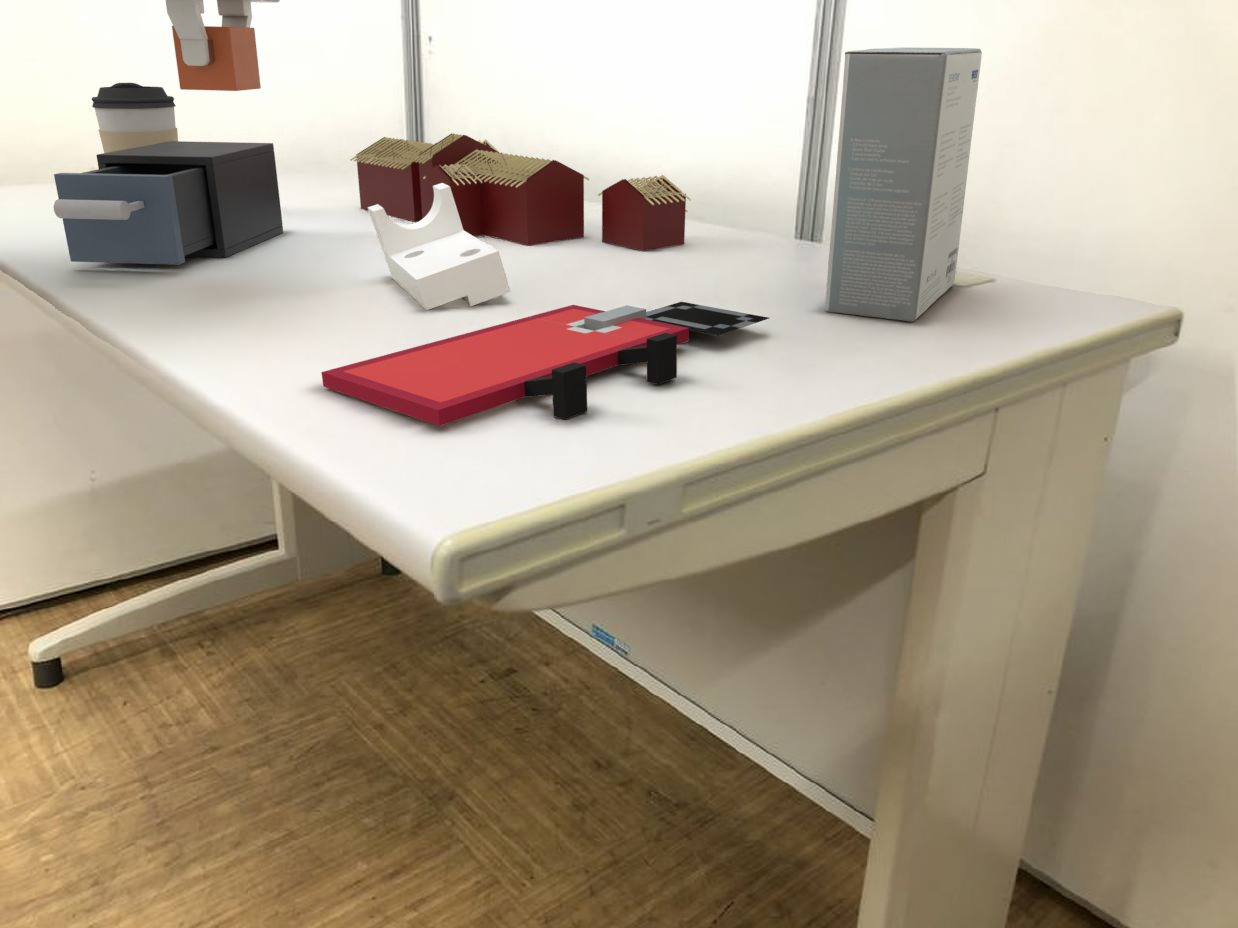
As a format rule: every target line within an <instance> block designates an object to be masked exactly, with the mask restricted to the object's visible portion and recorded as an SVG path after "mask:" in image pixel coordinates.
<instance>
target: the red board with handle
mask: <svg viewBox="0 0 1238 928" xmlns="http://www.w3.org/2000/svg"><path fill="white" fill-rule="evenodd" d="M769 319H770V317H768V316H763V315H758V314H753V313H748V312H747V313H746V312H740V311H736V310H734V311H733V310H729V309H724V308H719V307H714V306H708V305H703V304H696V303H692V302H686V301H679V302H675V303H672V304H669V305H665V306H661V307H657V308H655V309H652V310H648V311H647V308H644V307H643V308H642V307H638V306H633V305H623V306H620V307H616V308H612V309H609V310H602V309H596V308H592V307H586V306H581V305H576V304H571V305H567V306H562V307H559V308H556V309H555V308H554V309H552V310H548V311H545V312H541V313H537V314H533V315H529V316H526V317H522V318H519V319H515V320H510V321H508V322H503V323H500V324H496V325H492V326H489V327H484V328H481V329H477V330H473V331H470V332H466V333H462V334H459V335H453V336H451V337H447V338H443V339H440V340H437V341H433V342H428V343H425V344H421V345H418V346H414V347H410V348H406V349H403V350H399V351H395V352H391V353H387V354H384V355H380V356H376V357H372V358H369V359H365V360H361V361H357V362H353V363H350V364H347V365H342V366H339V367H335V368H332V369H328V370H324V371H321V380H322V387H324V388H327V389H328V390H329V389H330V390H332V391H335V392H338V393H341V394H343V395H347V396H350V397H353V398H355V399H359V400H362V401H365V402H368V403H370V404H372V405H373V404H374V405H376V406H378V407H383V408H384V409H388V410H391V411H394V412H397V413H400V414H402V415H405V416H408V417H412V418H413V419H417V420H421V421H423V422H426V423H429V424H432V425H435V426H438V427H441V426H444V425H447V424H450V423H453V422H456V421H459V420H461V419H464V418H467V417H470V416H473V415H476V414H479V413H482V412H485V411H489V410H491V409H493V408H497V407H500V406H502V405H506V404H509V403H511V402H514V401H518V400H521V399H523V398H533V397H543V396H544V397H545V396H552V412H553V417H554V418H558V419H562V420H569V419H571V418H573V417H576V416H578V415H581V414H584V413H586V412H588V387H587V385H588V384H587V383H588V381H587V380H588V379H587V377H588V376H591V375H593V374H596V373H599V372H602V371H605V370H609V369H611V368H614V367H617V366H625V365H634V364H645V363H646V382H647V383H650V384H653V385H661V384H664V383H666V382H669V381H672V380H674V379H677V377H678V345H681V344H685V343H688V342H689V341H690V331H691V332H695V333H701V334H706V335H710V336H711V335H712V336H715V337H719V336H723V335H726V334H729V333H732V332H735V331H737V330H740V329H743V328H745V327H749V326H751V325H754V324H757V323H760V322H763V321H766V320H769Z"/></svg>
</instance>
